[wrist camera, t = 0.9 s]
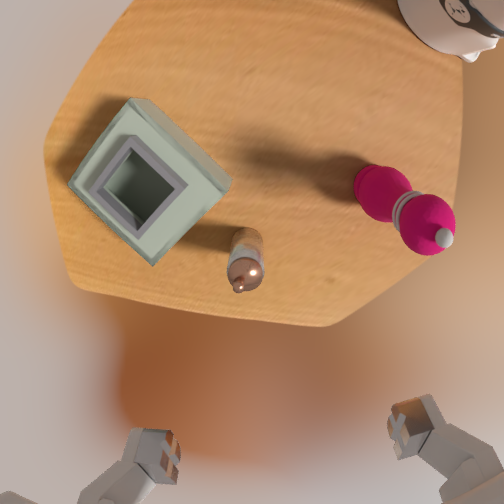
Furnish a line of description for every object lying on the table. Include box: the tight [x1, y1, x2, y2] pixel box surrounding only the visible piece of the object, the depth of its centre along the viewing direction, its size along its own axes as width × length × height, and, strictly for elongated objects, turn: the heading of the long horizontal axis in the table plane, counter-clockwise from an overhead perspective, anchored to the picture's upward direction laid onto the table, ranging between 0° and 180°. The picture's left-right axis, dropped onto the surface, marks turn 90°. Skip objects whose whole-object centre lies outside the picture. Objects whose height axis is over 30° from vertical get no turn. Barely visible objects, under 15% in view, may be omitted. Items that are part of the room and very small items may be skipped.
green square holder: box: [67, 98, 232, 266], centre depth 36 cm, size 14×16×9 cm
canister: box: [227, 228, 264, 293], centre depth 39 cm, size 4×4×12 cm
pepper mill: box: [354, 165, 455, 256], centre depth 32 cm, size 7×7×20 cm
